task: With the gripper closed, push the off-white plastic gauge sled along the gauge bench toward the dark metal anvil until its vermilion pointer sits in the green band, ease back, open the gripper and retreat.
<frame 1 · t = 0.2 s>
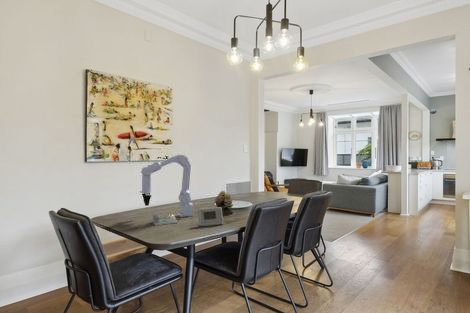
hand: (146, 204, 196), 10 cm above the table, fingers open, 7 cm apart
gauge sled: (170, 216, 190), point 3 cm above the table, slide at 0.0 cm
brown bushy plant: (223, 212, 220), on the table
gauge bench: (164, 222, 189), on the table
digital clock: (210, 225, 183), on the table
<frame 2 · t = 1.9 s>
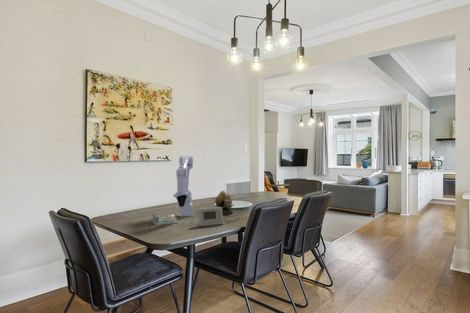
hand: (181, 206, 193), 9 cm above the table, fingers closed
nothing on the table moved.
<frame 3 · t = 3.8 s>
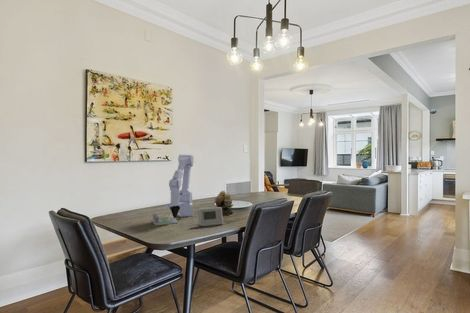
hand: (174, 217, 192), 2 cm above the table, fingers closed
gauge sled: (168, 216, 190), point 3 cm above the table, slide at 1.0 cm, touching gripper
everything else where it was.
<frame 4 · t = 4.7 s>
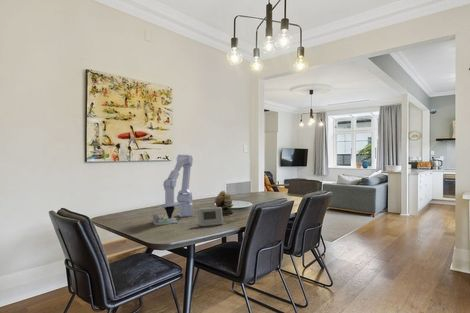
hand: (169, 218, 190), 2 cm above the table, fingers closed
gauge sled: (163, 217, 188), point 3 cm above the table, slide at 4.4 cm, touching gripper
everything else where it was.
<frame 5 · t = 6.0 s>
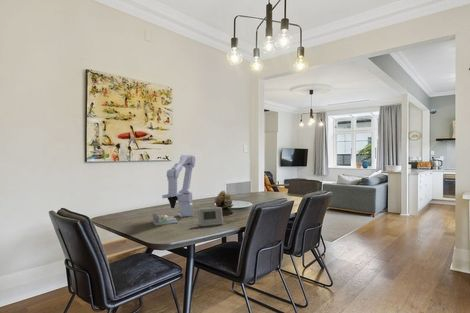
hand: (172, 208, 191), 9 cm above the table, fingers closed
gauge sled: (163, 217, 188), point 3 cm above the table, slide at 4.4 cm
everything else where it was.
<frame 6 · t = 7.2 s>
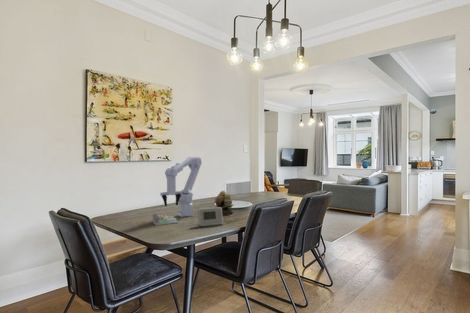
hand: (171, 205, 197), 9 cm above the table, fingers open, 7 cm apart
nothing on the table moved.
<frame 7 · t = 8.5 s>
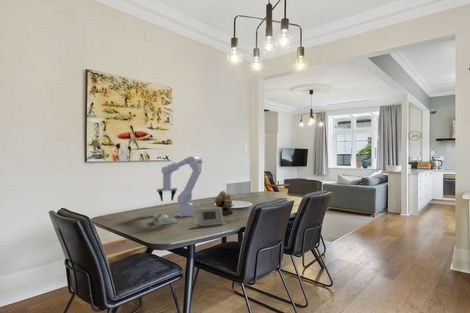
hand: (167, 200, 215), 9 cm above the table, fingers open, 7 cm apart
nothing on the table moved.
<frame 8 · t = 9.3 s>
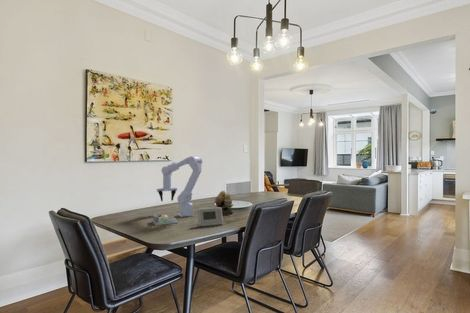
hand: (167, 200, 215), 9 cm above the table, fingers open, 7 cm apart
nothing on the table moved.
at the end: gauge sled slide at 4.4 cm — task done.
